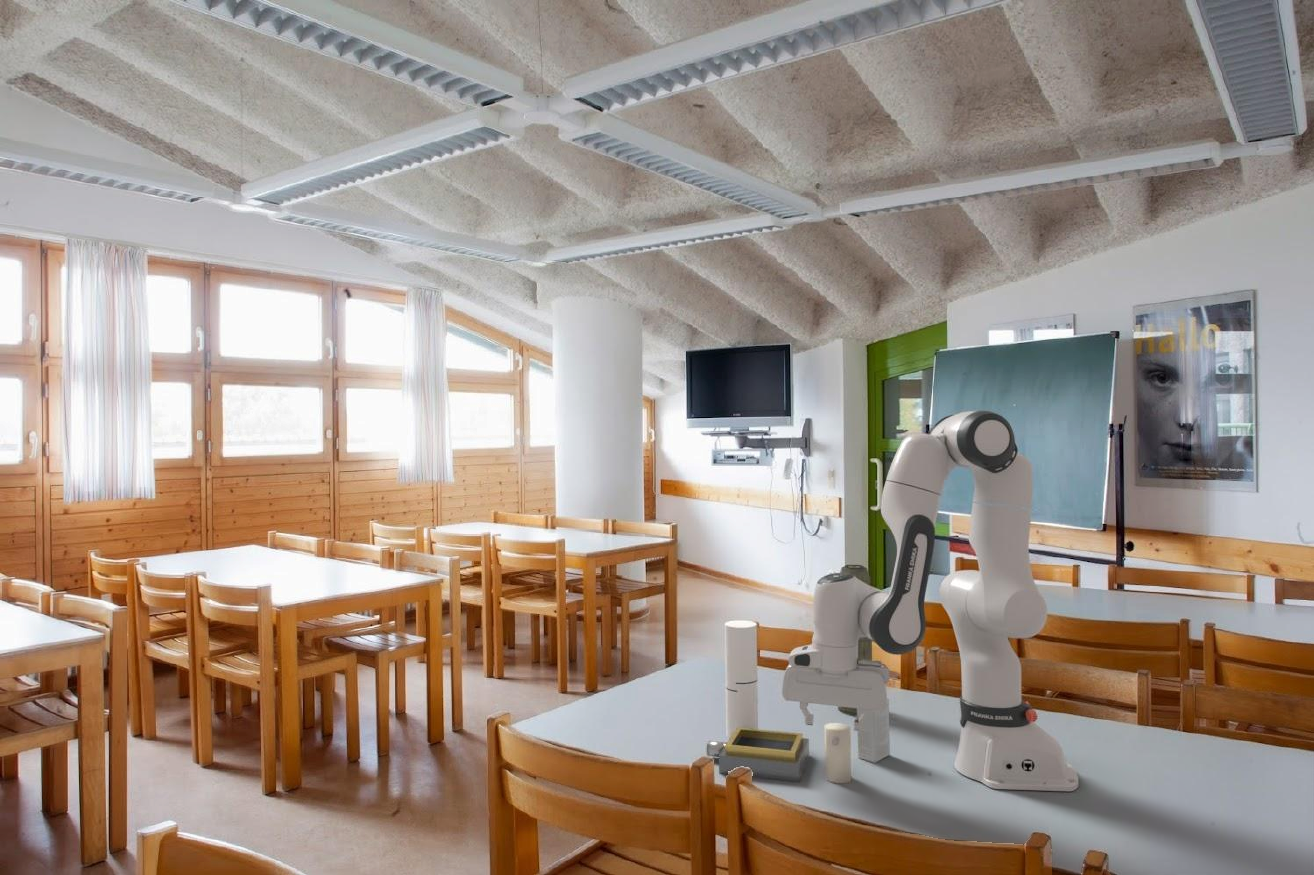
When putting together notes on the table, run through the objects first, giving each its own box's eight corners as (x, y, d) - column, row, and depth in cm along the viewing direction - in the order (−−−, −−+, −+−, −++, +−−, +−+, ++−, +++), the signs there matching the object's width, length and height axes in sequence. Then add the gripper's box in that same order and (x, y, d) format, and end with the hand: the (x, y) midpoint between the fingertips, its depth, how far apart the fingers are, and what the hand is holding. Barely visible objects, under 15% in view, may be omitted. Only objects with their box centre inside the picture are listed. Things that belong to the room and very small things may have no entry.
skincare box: (872, 749, 180) (871, 693, 180) (890, 755, 177) (889, 698, 177) (856, 758, 176) (856, 700, 176) (874, 763, 173) (874, 705, 173)
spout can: (852, 774, 168) (851, 724, 168) (849, 788, 162) (848, 736, 161) (826, 771, 169) (825, 721, 169) (822, 785, 163) (821, 733, 163)
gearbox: (809, 755, 178) (808, 731, 178) (799, 782, 165) (798, 756, 165) (716, 745, 184) (716, 722, 184) (699, 770, 171) (699, 746, 171)
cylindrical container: (756, 741, 186) (755, 628, 186) (724, 739, 188) (722, 627, 187) (759, 730, 193) (757, 620, 193) (728, 728, 195) (726, 619, 194)
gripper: (890, 657, 166) (889, 728, 166) (786, 648, 172) (785, 716, 172) (888, 666, 160) (887, 739, 160) (780, 655, 166) (779, 726, 166)
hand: (833, 727), depth 166 cm, fingers open, 8 cm apart
